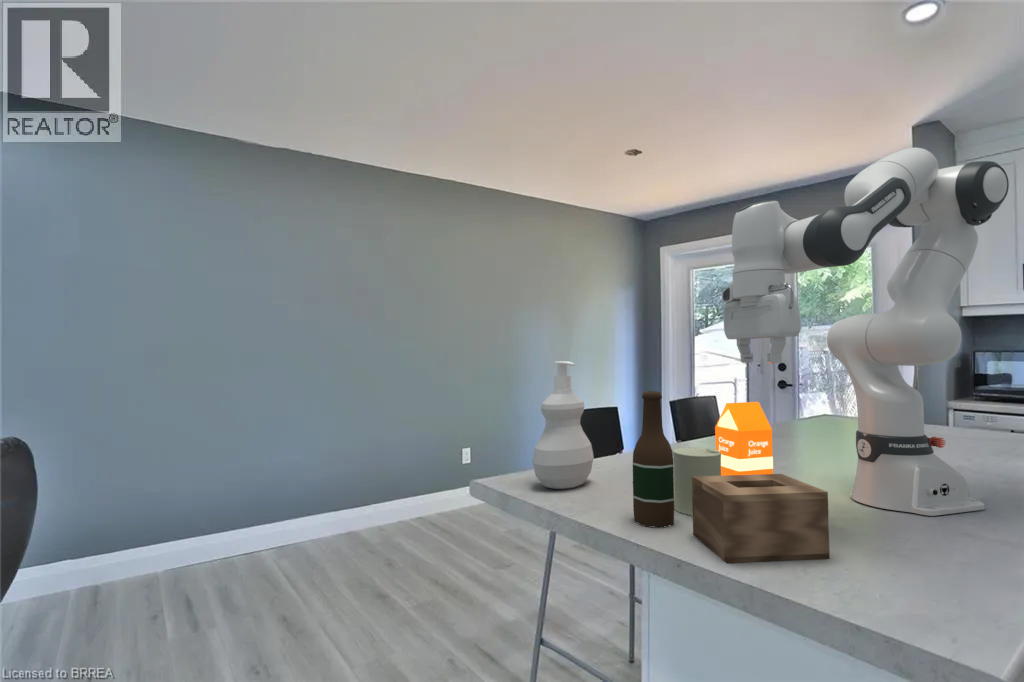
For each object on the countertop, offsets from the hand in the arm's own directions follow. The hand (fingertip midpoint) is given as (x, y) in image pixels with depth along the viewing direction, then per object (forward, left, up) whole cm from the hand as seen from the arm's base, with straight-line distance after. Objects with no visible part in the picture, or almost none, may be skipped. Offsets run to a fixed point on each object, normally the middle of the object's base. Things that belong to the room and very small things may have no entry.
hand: (760, 363), depth 98 cm
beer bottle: (+20, -2, -29) cm, 35 cm away
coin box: (+8, +12, -29) cm, 32 cm away
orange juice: (-6, -18, -29) cm, 35 cm away
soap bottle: (+32, -30, -29) cm, 53 cm away
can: (+9, -8, -29) cm, 32 cm away
